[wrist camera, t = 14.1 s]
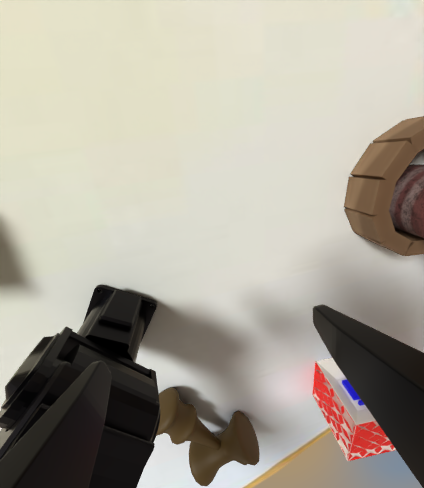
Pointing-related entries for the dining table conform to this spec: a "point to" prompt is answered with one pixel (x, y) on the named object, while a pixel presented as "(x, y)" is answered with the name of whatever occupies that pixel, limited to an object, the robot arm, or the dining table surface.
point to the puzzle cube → (347, 413)
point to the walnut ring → (384, 187)
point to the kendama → (206, 437)
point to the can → (409, 201)
